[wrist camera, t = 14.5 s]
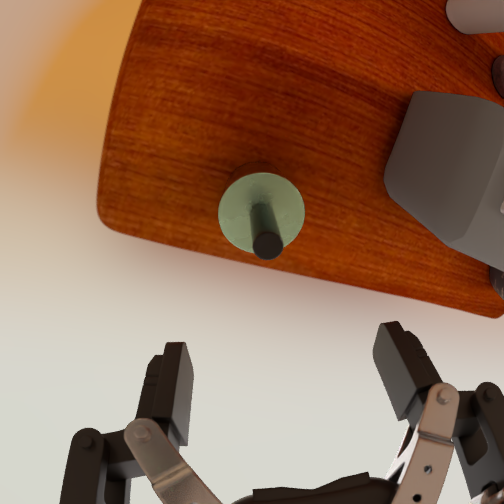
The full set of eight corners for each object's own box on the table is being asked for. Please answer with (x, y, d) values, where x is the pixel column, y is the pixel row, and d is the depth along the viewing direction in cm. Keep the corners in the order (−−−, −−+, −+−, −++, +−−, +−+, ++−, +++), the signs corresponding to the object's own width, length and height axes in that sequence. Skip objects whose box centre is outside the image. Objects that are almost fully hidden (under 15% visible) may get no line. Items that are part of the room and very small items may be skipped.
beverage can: (446, 30, 21) (523, 22, 10) (439, -7, 19) (511, -26, 8) (475, 38, 21) (550, 38, 10) (469, 3, 19) (540, -7, 8)
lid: (223, 250, 27) (220, 295, 22) (214, 173, 24) (207, 199, 18) (302, 244, 27) (319, 287, 22) (302, 167, 24) (323, 191, 18)
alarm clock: (496, 154, 28) (587, 200, 14) (463, 231, 33) (540, 300, 19) (403, 89, 25) (517, 104, 11) (366, 187, 30) (452, 264, 16)
